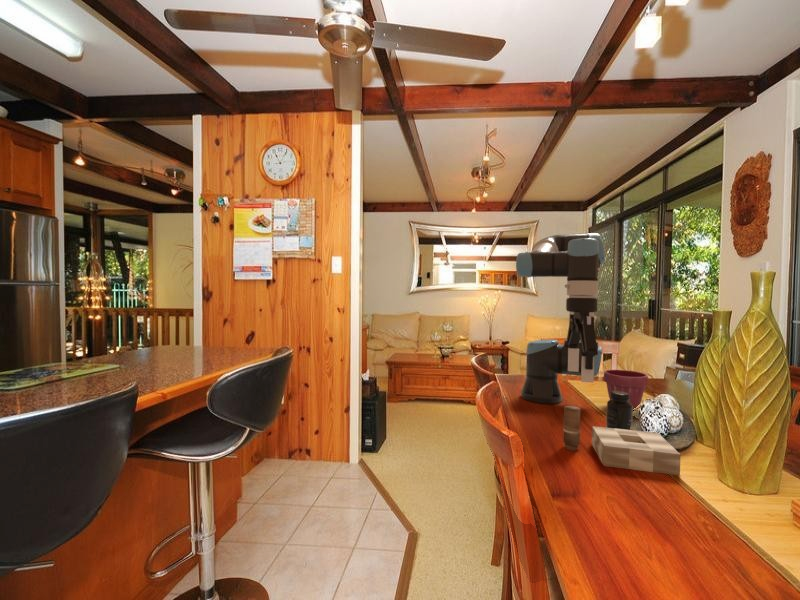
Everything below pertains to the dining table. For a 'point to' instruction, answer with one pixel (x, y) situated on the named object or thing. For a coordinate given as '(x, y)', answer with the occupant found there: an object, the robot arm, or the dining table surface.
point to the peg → (571, 427)
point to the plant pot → (627, 384)
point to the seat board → (635, 450)
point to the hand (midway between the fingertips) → (579, 376)
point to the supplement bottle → (619, 411)
